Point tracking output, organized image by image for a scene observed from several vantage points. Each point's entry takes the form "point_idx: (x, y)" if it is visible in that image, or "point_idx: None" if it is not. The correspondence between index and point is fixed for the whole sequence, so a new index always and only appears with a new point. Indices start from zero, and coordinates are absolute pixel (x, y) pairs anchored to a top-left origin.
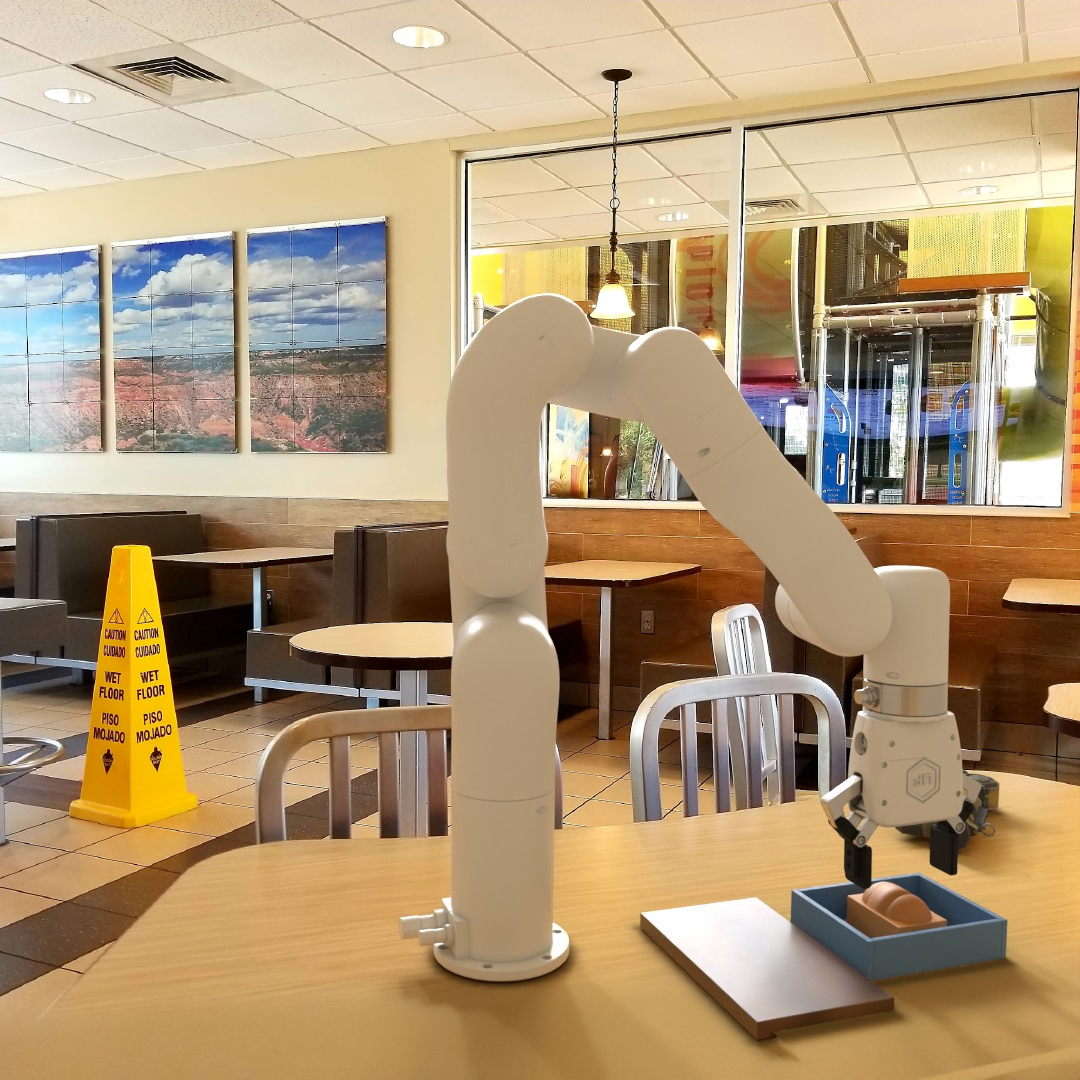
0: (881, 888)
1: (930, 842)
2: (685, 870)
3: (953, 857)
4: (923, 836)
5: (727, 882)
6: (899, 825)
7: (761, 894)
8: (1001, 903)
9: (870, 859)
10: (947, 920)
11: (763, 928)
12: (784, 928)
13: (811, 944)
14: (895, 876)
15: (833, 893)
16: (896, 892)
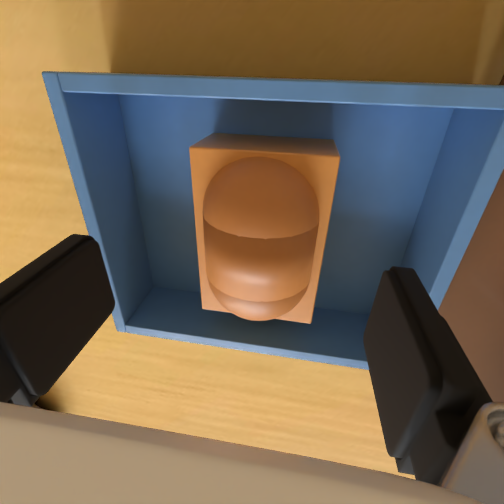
0: (275, 292)
1: (76, 352)
2: (368, 465)
3: (49, 263)
4: (38, 407)
5: (345, 432)
6: (337, 471)
7: (331, 398)
8: (15, 257)
9: (429, 335)
10: (137, 227)
11: (494, 321)
12: (459, 306)
13: (478, 240)
14: (170, 337)
15: (315, 343)
16: (266, 257)
